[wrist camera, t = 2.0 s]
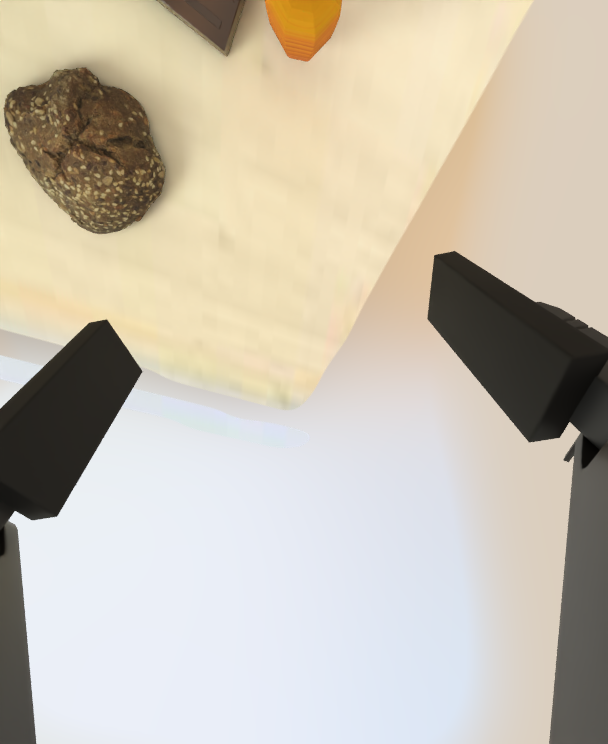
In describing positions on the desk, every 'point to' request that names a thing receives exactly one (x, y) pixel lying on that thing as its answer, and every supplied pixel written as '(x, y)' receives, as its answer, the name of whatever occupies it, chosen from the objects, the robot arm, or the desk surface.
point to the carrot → (303, 24)
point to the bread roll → (87, 148)
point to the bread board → (209, 19)
